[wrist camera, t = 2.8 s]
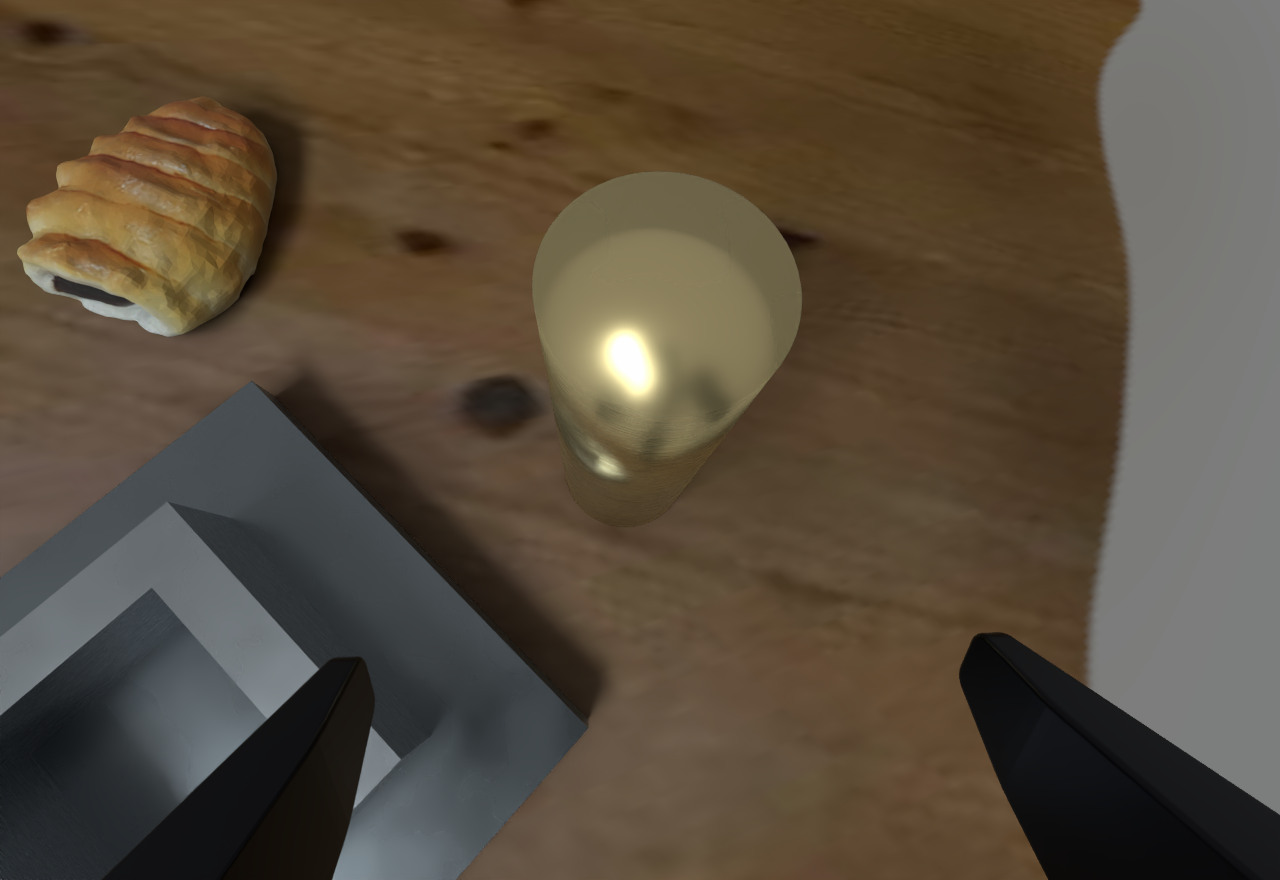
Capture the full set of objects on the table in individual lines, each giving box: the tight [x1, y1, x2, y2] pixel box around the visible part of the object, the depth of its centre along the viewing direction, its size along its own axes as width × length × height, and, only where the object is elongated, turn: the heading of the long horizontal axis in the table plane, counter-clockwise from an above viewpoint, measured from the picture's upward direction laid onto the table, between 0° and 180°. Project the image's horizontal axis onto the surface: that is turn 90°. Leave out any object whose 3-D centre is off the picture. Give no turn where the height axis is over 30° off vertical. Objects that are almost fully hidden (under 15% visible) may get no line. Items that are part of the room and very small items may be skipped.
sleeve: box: [532, 172, 802, 527], centre depth 16 cm, size 4×4×13 cm
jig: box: [0, 381, 588, 880], centre depth 17 cm, size 16×16×4 cm
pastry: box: [17, 96, 277, 337], centre depth 22 cm, size 9×7×4 cm
